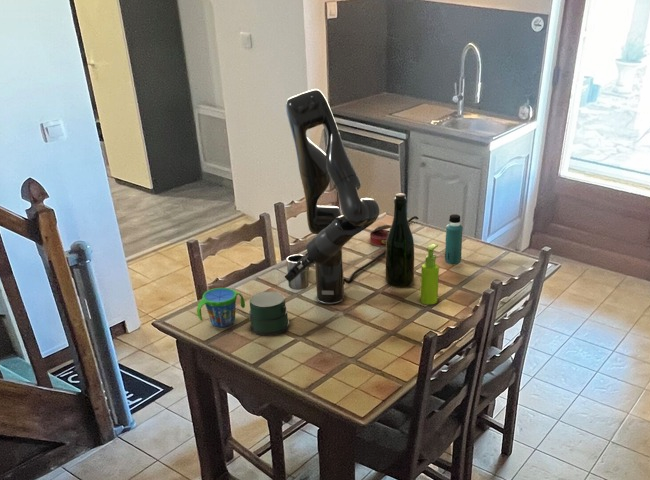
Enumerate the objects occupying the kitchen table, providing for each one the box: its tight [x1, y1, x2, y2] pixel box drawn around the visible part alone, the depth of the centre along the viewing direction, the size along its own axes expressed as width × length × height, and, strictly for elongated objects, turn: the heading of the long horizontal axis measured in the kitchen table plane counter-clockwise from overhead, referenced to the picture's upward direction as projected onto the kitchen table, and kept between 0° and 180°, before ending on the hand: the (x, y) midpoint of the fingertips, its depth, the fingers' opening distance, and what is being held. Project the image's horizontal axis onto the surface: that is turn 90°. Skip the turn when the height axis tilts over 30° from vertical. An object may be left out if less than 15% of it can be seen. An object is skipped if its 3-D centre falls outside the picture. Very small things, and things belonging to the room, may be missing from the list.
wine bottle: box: [384, 192, 415, 288], centre depth 242 cm, size 10×10×33 cm
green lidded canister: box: [248, 290, 290, 337], centre depth 219 cm, size 12×12×10 cm
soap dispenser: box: [420, 243, 440, 306], centre depth 234 cm, size 6×7×20 cm
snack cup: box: [196, 287, 246, 328], centre depth 220 cm, size 16×10×10 cm
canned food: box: [369, 224, 391, 247], centre depth 281 cm, size 11×10×10 cm
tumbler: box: [286, 254, 310, 291], centre depth 207 cm, size 6×6×9 cm
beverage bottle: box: [444, 213, 464, 265], centre depth 259 cm, size 6×7×20 cm
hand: (293, 274), depth 208 cm, fingers closed on tumbler, 6 cm apart
